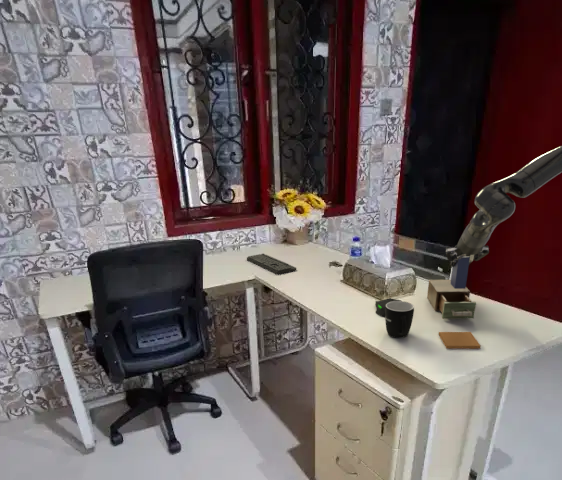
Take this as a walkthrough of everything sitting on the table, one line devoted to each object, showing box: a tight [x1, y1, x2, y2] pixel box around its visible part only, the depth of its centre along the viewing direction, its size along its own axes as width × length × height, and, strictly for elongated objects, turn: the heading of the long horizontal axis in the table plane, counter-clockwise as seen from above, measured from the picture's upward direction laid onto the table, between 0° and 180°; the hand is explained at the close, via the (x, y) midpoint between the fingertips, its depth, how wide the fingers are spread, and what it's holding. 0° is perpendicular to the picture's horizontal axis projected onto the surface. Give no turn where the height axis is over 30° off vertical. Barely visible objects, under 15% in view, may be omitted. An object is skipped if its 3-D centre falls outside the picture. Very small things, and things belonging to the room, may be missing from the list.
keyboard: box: [246, 253, 297, 275], centre depth 220 cm, size 35×11×2 cm, turn 30°
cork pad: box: [438, 331, 481, 350], centre depth 131 cm, size 10×10×1 cm
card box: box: [450, 256, 470, 289], centre depth 143 cm, size 4×6×11 cm, turn 174°
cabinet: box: [426, 279, 471, 312], centre depth 158 cm, size 14×12×8 cm
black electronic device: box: [374, 297, 402, 318], centre depth 156 cm, size 11×16×4 cm
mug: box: [384, 300, 415, 339], centre depth 135 cm, size 12×9×10 cm
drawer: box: [438, 293, 477, 320], centre depth 147 cm, size 17×10×6 cm, turn 174°
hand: (458, 264), depth 144 cm, fingers closed on card box, 3 cm apart
